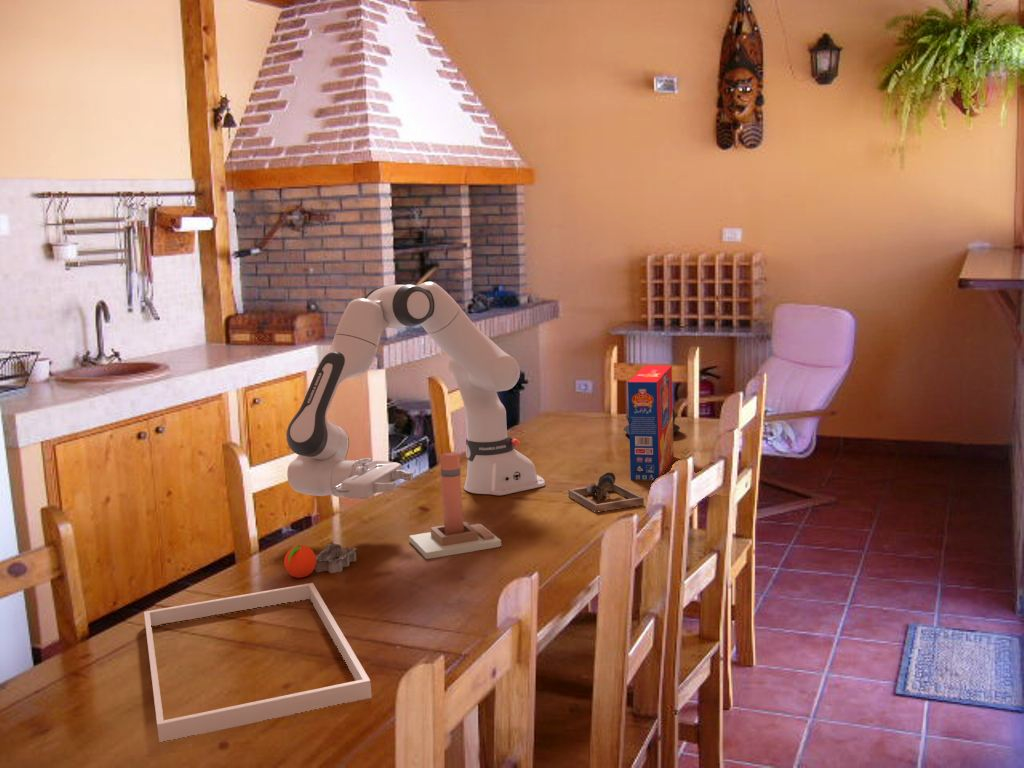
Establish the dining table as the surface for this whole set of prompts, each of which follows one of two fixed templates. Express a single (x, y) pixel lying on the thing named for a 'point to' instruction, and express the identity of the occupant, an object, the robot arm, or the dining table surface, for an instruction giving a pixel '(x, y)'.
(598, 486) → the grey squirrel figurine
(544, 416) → the dining table surface
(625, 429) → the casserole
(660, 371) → the blue cardboard box
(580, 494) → the figurine display rim
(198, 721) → the frame
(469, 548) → the cradle jig
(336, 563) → the grey castle model
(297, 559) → the clementine
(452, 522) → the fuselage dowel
